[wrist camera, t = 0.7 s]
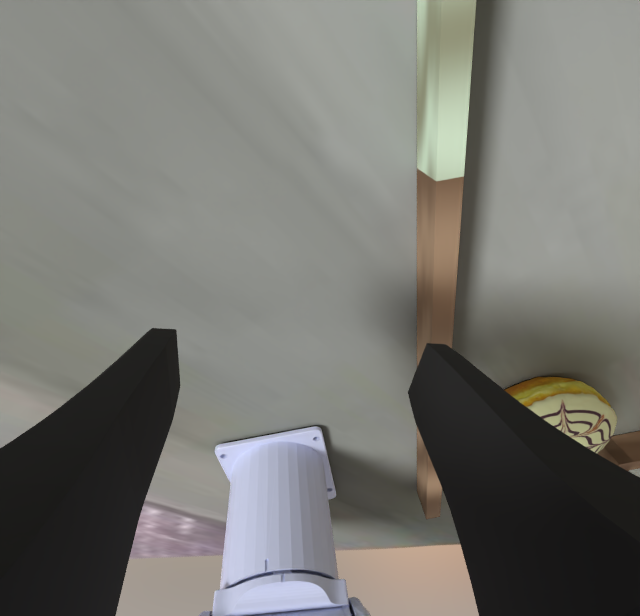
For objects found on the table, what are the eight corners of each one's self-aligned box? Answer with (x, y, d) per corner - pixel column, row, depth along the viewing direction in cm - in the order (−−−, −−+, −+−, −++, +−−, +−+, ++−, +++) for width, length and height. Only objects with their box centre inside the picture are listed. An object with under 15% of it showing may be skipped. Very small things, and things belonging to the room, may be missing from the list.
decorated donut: (430, 433, 30) (448, 476, 26) (539, 344, 25) (576, 383, 22) (507, 468, 34) (531, 509, 30) (611, 397, 29) (652, 436, 26)
